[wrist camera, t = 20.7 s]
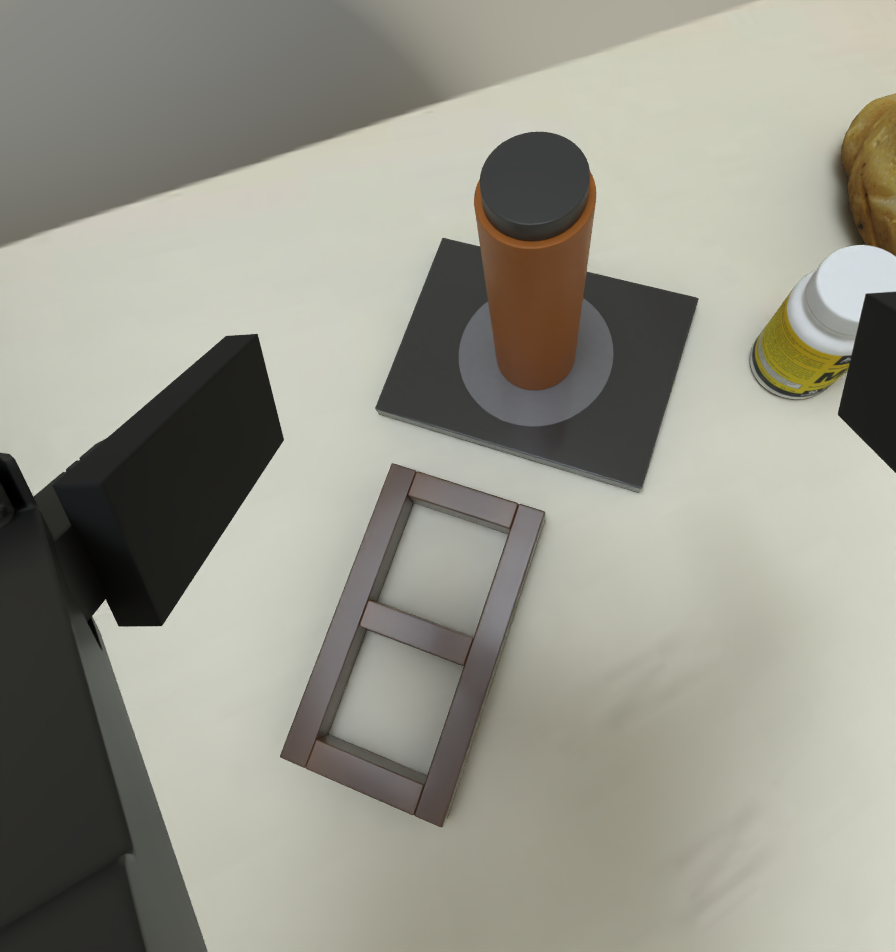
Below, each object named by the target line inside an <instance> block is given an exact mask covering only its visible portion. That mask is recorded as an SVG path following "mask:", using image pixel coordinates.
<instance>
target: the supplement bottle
mask: <svg viewBox="0 0 896 952" xmlns="http://www.w3.org/2000/svg"><path fill="white" fill-rule="evenodd" d="M882 292H896V256H894V255H892V254H891V253H889V252H887V251H885V250H883V249H880V248H877V247H874V246H868V245H854V246H848V247H844V248H842V249H839V250H837V251H835V252H834V253H832V254H830V255H829V256H828V257H827V258H826V259H825V260H824V261H823V262H822V263H821V264H820V266H819V267H818V268H817V269H816V270H814V271H812V272H811V273H809V274H807V275H806V276H805V277H803V278H802V279H801V280H800V281H799V282H798V283H797V284H796V286H795V287H794V288H793V289H792V291H791V292H790V294H789V295H788V297H787V298H786V299H785V301H784V302H783V304H782V305H781V306H780V308H779V309H778V310H777V312H776V313H775V314H774V316H773V317H772V319H771V320H770V321H769V323H768V324H767V325H766V327H765V328H764V329H763V331H762V332H761V333H760V335H759V336H758V337H757V339H756V341H755V342H754V344H753V347H752V350H751V354H750V364H751V368H752V371H753V374H754V376H755V377H756V379H757V380H758V381H759V383H760V384H761V385H762V386H763V387H764V388H766V389H767V390H769V391H770V392H772V393H774V394H776V395H778V396H781V397H784V398H789V399H805V398H809V397H813V396H815V395H818V394H820V393H821V392H823V391H824V390H826V389H827V388H828V387H830V386H831V385H832V384H833V383H834V382H835V381H836V380H837V379H838V378H840V377H841V376H842V375H843V374H844V373H845V372H846V371H848V368H849V364H850V359H851V355H852V351H853V346H854V342H855V338H856V333H857V329H858V325H859V320H860V316H861V311H862V307H863V303H864V298H865V294H867V293H882Z"/></svg>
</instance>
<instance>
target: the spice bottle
mask: <svg viewBox="0 0 896 952" xmlns="http://www.w3.org/2000/svg"><path fill="white" fill-rule="evenodd" d="M595 203H596V186H595V182H594V179H593V176H592V174H591V172H590V169H589V164H588V162H587V159H586V157H585V156H584V154H583V152H582V151H581V150H580V149H579V147H577V146H576V145H575V144H574V143H573V142H571V141H570V140H568V139H567V138H565V137H562V136H560V135H557V134H553V133H548V132H529V133H524V134H521V135H517V136H515V137H512V138H510V139H508V140H507V141H505V142H503V143H502V144H500V145H499V146H498V147H497V148H496V149H495V150H494V151H493V152H492V153H491V154H490V155H489V157H488V158H487V160H486V161H485V163H484V166H483V168H482V171H481V175H480V180H479V182H478V184H477V187H476V190H475V196H474V207H475V213H476V220H477V227H478V234H479V241H480V248H481V255H482V262H483V269H484V276H485V283H486V290H487V297H488V304H489V311H490V317H491V324H492V331H493V338H494V345H495V352H496V359H497V364H498V367H499V369H500V371H501V373H502V375H503V376H504V377H505V378H506V379H507V380H508V381H509V382H510V383H512V384H513V385H515V386H517V387H519V388H522V389H526V390H543V389H547V388H550V387H553V386H555V385H556V384H558V383H560V382H561V381H562V380H563V379H564V378H565V377H566V376H567V375H568V374H569V372H570V371H571V369H572V367H573V364H574V361H575V355H576V348H577V340H578V332H579V325H580V317H581V309H582V302H583V294H584V287H585V279H586V271H587V264H588V256H589V248H590V241H591V233H592V226H593V218H594V210H595Z"/></svg>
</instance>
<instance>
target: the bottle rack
mask: <svg viewBox="0 0 896 952" xmlns="http://www.w3.org/2000/svg"><path fill="white" fill-rule="evenodd" d="M413 502H414V503H416V504H419V505H422V506H425V507H428V508H431V509H434V510H437V511H440V512H443V513H446V514H449V515H452V516H455V517H458V518H462V519H465V520H468V521H471V522H474V523H477V524H480V525H483V526H486V527H489V528H492V529H495V530H498V531H501V532H504V533H507V534H508V537H507V540H506V543H505V546H504V549H503V552H502V555H501V558H500V561H499V564H498V567H497V570H496V573H495V576H494V579H493V582H492V585H491V588H490V591H489V594H488V597H487V600H486V603H485V606H484V609H483V612H482V615H481V618H480V621H479V624H478V627H477V629H476V632H475V635H474V637H472V636H469V635H466V634H464V633H461V632H458V631H456V630H453V629H450V628H447V627H445V626H442V625H439V624H437V623H434V622H431V621H428V620H426V619H423V618H420V617H418V616H415V615H412V614H409V613H407V612H404V611H401V610H399V609H396V608H393V607H390V606H388V605H385V604H382V603H379V602H377V600H378V597H379V594H380V592H381V589H382V586H383V583H384V581H385V578H386V575H387V573H388V570H389V567H390V565H391V562H392V559H393V556H394V554H395V551H396V548H397V546H398V543H399V540H400V538H401V535H402V532H403V529H404V527H405V524H406V521H407V519H408V516H409V513H410V511H411V508H412V505H413ZM544 521H545V512H544V511H541V510H538V509H535V508H532V507H529V506H525V505H522V504H519V505H518V503H516V502H513V501H509V500H506V499H503V498H500V497H497V496H494V495H491V494H487V493H484V492H481V491H478V490H475V489H472V488H469V487H465V486H462V485H459V484H456V483H453V482H450V481H447V480H443V479H440V478H437V477H434V476H431V475H428V474H425V473H421V472H416V471H415V470H412V469H409V468H406V467H403V466H400V465H397V464H393V463H392V464H391V467H390V470H389V472H388V475H387V477H386V480H385V483H384V485H383V488H382V491H381V493H380V496H379V498H378V501H377V504H376V506H375V509H374V511H373V514H372V517H371V519H370V522H369V525H368V527H367V530H366V532H365V535H364V538H363V540H362V543H361V545H360V548H359V551H358V553H357V556H356V559H355V561H354V564H353V566H352V569H351V572H350V574H349V577H348V580H347V582H346V585H345V587H344V590H343V593H342V595H341V598H340V600H339V603H338V606H337V608H336V611H335V614H334V616H333V619H332V621H331V624H330V627H329V629H328V632H327V634H326V637H325V640H324V642H323V645H322V648H321V650H320V653H319V655H318V658H317V661H316V663H315V666H314V668H313V671H312V674H311V676H310V679H309V682H308V684H307V687H306V689H305V692H304V695H303V697H302V700H301V702H300V705H299V708H298V710H297V713H296V716H295V718H294V721H293V723H292V726H291V729H290V731H289V734H288V737H287V739H286V742H285V744H284V747H283V750H282V752H281V755H280V757H281V758H283V759H285V760H288V761H290V762H292V763H294V764H297V765H299V766H301V767H304V768H306V769H308V770H310V771H313V772H315V773H317V774H319V775H322V776H324V777H326V778H329V779H331V780H333V781H335V782H338V783H340V784H342V785H345V786H347V787H349V788H352V789H354V790H356V791H358V792H361V793H363V794H365V795H368V796H370V797H372V798H374V799H377V800H379V801H381V802H384V803H386V804H388V805H390V806H393V807H395V808H397V809H400V810H402V811H404V812H406V813H409V814H411V815H415V816H416V817H418V818H420V819H423V820H425V821H427V822H430V823H432V824H434V825H436V826H439V827H443V825H444V823H445V821H446V819H447V817H448V815H449V812H450V808H451V805H452V802H453V799H454V796H455V793H456V790H457V787H458V784H459V781H460V778H461V775H462V772H463V769H464V766H465V763H466V759H467V756H468V753H469V750H470V747H471V744H472V741H473V738H474V735H475V732H476V729H477V726H478V723H479V720H480V717H481V714H482V711H483V707H484V704H485V701H486V698H487V695H488V692H489V689H490V686H491V683H492V680H493V677H494V674H495V671H496V668H497V665H498V662H499V658H500V655H501V652H502V649H503V646H504V643H505V640H506V637H507V634H508V631H509V628H510V625H511V622H512V619H513V616H514V613H515V609H516V606H517V603H518V600H519V597H520V594H521V591H522V588H523V585H524V582H525V579H526V576H527V573H528V570H529V567H530V564H531V560H532V557H533V554H534V551H535V548H536V545H537V542H538V539H539V536H540V533H541V530H542V527H543V524H544ZM366 629H367V630H370V631H372V632H375V633H378V634H380V635H383V636H385V637H388V638H391V639H393V640H396V641H399V642H401V643H404V644H407V645H409V646H412V647H414V648H417V649H420V650H422V651H425V652H428V653H430V654H433V655H436V656H438V657H441V658H444V659H446V660H449V661H451V662H454V663H457V664H459V665H462V666H464V668H463V671H462V674H461V677H460V680H459V683H458V686H457V689H456V692H455V695H454V698H453V701H452V704H451V707H450V710H449V713H448V716H447V719H446V722H445V725H444V728H443V730H442V733H441V736H440V739H439V742H438V745H437V748H436V751H435V754H434V757H433V760H432V763H431V766H430V769H429V772H428V775H427V776H426V775H424V774H421V773H419V772H416V771H414V770H412V769H409V768H407V767H405V766H402V765H400V764H397V763H395V762H393V761H390V760H388V759H386V758H383V757H381V756H378V755H376V754H374V753H371V752H369V751H367V750H364V749H362V748H359V747H357V746H355V745H352V744H350V743H348V742H345V741H343V740H340V739H338V738H336V737H333V736H331V735H328V732H329V729H330V727H331V724H332V721H333V718H334V716H335V713H336V710H337V708H338V705H339V702H340V700H341V697H342V694H343V691H344V689H345V686H346V683H347V681H348V678H349V675H350V673H351V670H352V667H353V664H354V662H355V659H356V656H357V654H358V651H359V648H360V646H361V643H362V640H363V637H364V635H365V632H366Z"/></svg>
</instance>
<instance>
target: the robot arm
mask: <svg viewBox="0 0 896 952" xmlns="http://www.w3.org/2000/svg"><path fill="white" fill-rule="evenodd" d="M838 415H839V416H840V417H841V418H842V419H843V420H844V421H845V422H846V423H847V424H848V426H849V427H850V428H851V429H852V430H853V431H854V432H855V433H856V434H857V435H858V436H859V437H860V438H861V439H862V440H863V441H864V442H865V443H866V444H867V445H868V446H869V447H870V448H871V449H872V450H873V451H874V452H875V453H876V454H877V455H878V456H879V457H880V458H881V459H882V460H883V461H884V462H885V463H886V464H887V465H888V466H889V467H890V468H891V469H892V470H893V471H894V472H895V473H896V292H882V293H867V294H865V298H864V303H863V307H862V311H861V316H860V320H859V325H858V329H857V333H856V338H855V342H854V346H853V351H852V355H851V359H850V364H849V368H848V372H847V377H846V381H845V385H844V390H843V394H842V398H841V403H840V407H839V411H838ZM283 441H284V438H283V434H282V430H281V426H280V422H279V418H278V414H277V410H276V406H275V402H274V398H273V394H272V390H271V386H270V382H269V378H268V374H267V370H266V366H265V362H264V358H263V354H262V350H261V346H260V342H259V338H258V334H250V335H235V336H226V337H224V338H223V339H222V340H221V341H220V342H219V343H217V344H216V345H215V346H214V347H213V348H212V349H210V350H209V351H208V352H207V353H206V354H205V355H203V356H202V357H201V358H200V359H199V360H198V361H196V362H195V363H194V364H193V365H192V366H191V367H189V368H188V369H187V370H186V371H185V372H184V373H182V374H181V375H180V376H179V377H178V378H177V379H175V380H174V381H173V382H172V383H171V384H170V385H168V386H167V387H166V388H165V389H164V390H163V391H161V392H160V393H159V394H158V395H157V396H156V397H154V398H153V399H152V400H151V401H150V402H149V403H147V404H146V405H145V406H144V407H143V408H142V409H141V410H139V411H138V412H137V413H136V414H135V415H134V416H132V417H131V418H130V419H129V420H128V421H127V422H125V423H124V424H123V425H122V426H121V427H120V428H118V429H117V430H116V431H115V432H114V433H113V434H111V435H110V436H109V437H108V438H106V439H104V440H102V441H101V442H99V443H97V444H95V445H94V446H93V447H92V448H91V449H89V450H88V451H87V452H86V453H85V454H84V455H82V456H81V457H80V461H75V462H74V463H73V464H72V465H71V466H69V467H68V468H67V469H66V472H62V473H61V474H60V475H59V476H58V477H56V478H55V479H54V480H53V481H52V482H51V483H49V484H48V485H47V486H46V487H45V488H44V489H42V490H41V491H40V492H39V493H38V494H36V495H35V496H34V497H33V495H32V493H31V491H30V489H29V487H28V485H27V483H26V481H25V479H24V477H23V475H22V473H21V471H20V469H19V467H18V465H17V463H16V461H15V459H14V458H13V457H12V456H11V455H10V454H5V453H0V952H208V951H207V948H206V945H205V942H204V939H203V936H202V933H201V930H200V927H199V925H198V922H197V919H196V916H195V913H194V910H193V907H192V904H191V901H190V898H189V895H188V892H187V889H186V886H185V883H184V880H183V877H182V874H181V871H180V868H179V865H178V862H177V859H176V856H175V853H174V850H173V847H172V844H171V841H170V838H169V835H168V832H167V829H166V826H165V823H164V821H163V818H162V815H161V812H160V809H159V806H158V803H157V800H156V797H155V794H154V791H153V788H152V785H151V782H150V779H149V776H148V773H147V770H146V767H145V764H144V761H143V758H142V755H141V752H140V749H139V746H138V743H137V740H136V737H135V734H134V731H133V728H132V725H131V722H130V719H129V716H128V714H127V711H126V708H125V705H124V702H123V699H122V696H121V693H120V690H119V687H118V684H117V681H116V678H115V675H114V672H113V669H112V666H111V663H110V660H109V657H108V654H107V651H106V648H105V645H104V642H103V639H102V636H101V633H100V631H99V629H98V627H97V625H96V623H95V621H94V619H93V617H92V615H93V614H94V613H95V612H96V610H97V609H98V608H99V607H100V605H101V604H102V603H103V602H104V600H105V599H106V600H107V603H108V605H109V607H110V609H111V611H112V613H113V615H114V617H115V620H116V622H117V624H118V626H162V625H163V624H164V622H165V621H166V619H167V618H168V616H169V615H170V613H171V611H172V610H173V608H174V607H175V605H176V604H177V602H178V601H179V599H180V598H181V596H182V595H183V593H184V592H185V590H186V589H187V587H188V586H189V584H190V582H191V581H192V579H193V578H194V576H195V575H196V573H197V572H198V570H199V569H200V567H201V566H202V564H203V563H204V561H205V560H206V558H207V557H208V555H209V553H210V552H211V550H212V549H213V547H214V546H215V544H216V543H217V541H218V540H219V538H220V537H221V535H222V534H223V532H224V531H225V529H226V528H227V526H228V524H229V523H230V521H231V520H232V518H233V517H234V515H235V514H236V512H237V511H238V509H239V508H240V506H241V505H242V503H243V502H244V500H245V499H246V497H247V495H248V494H249V492H250V491H251V489H252V488H253V486H254V485H255V483H256V482H257V480H258V479H259V477H260V476H261V474H262V473H263V471H264V470H265V468H266V466H267V465H268V463H269V462H270V460H271V459H272V457H273V456H274V454H275V453H276V451H277V450H278V448H279V447H280V445H281V444H282V442H283Z"/></svg>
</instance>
